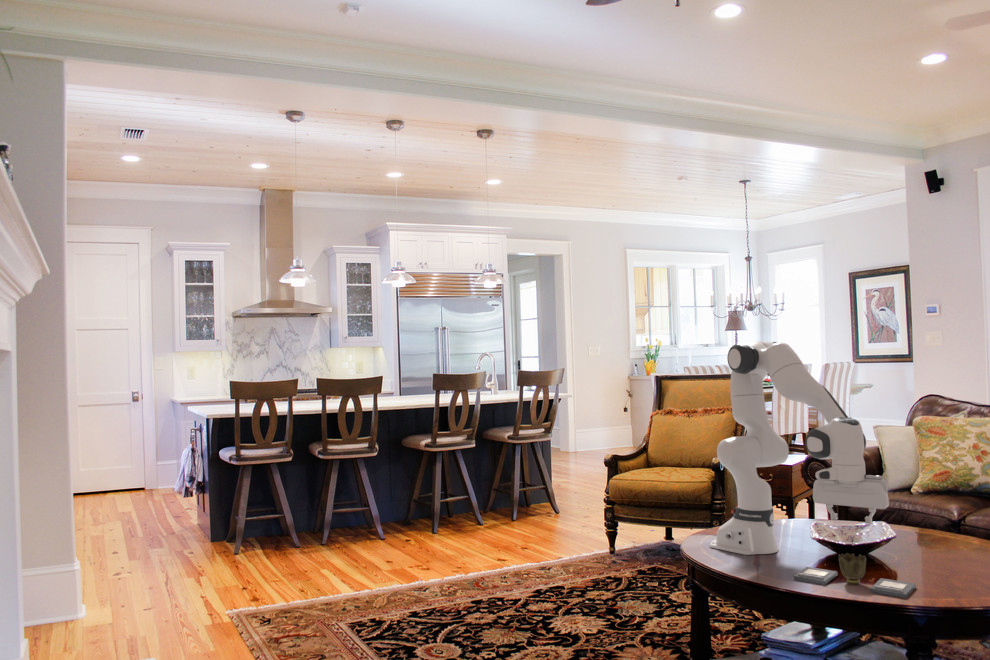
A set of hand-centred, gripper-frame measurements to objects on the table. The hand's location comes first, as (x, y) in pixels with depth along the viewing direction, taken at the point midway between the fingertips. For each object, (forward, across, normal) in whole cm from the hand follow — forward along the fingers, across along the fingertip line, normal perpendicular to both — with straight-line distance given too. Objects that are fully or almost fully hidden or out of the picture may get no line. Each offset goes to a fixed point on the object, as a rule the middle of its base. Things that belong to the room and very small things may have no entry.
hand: (851, 521), depth 220 cm
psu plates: (+18, 0, 0) cm, 18 cm away
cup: (+18, 0, 0) cm, 18 cm away
